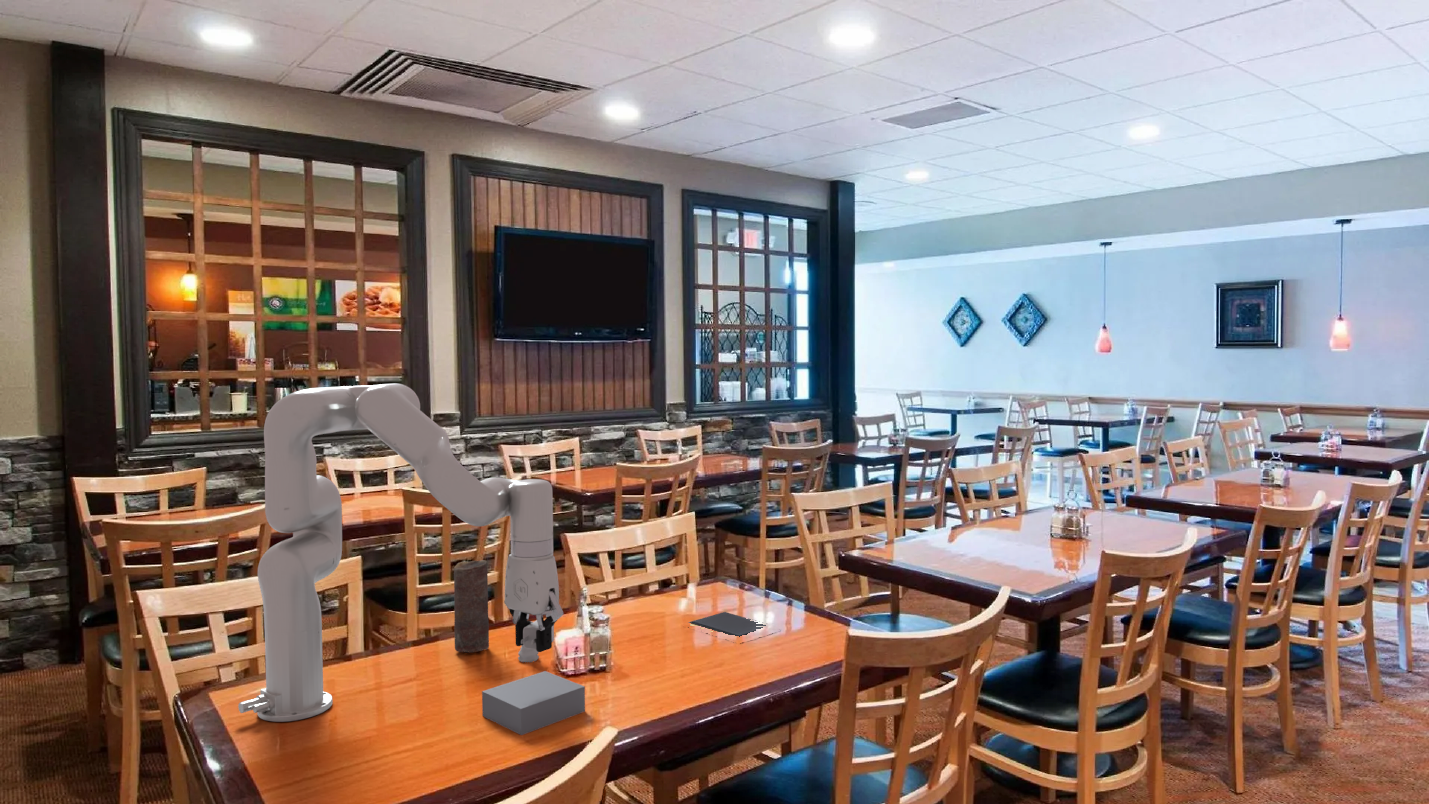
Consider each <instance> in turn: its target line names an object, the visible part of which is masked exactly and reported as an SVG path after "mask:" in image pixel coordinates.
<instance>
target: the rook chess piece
mask: <svg viewBox="0 0 1429 804" xmlns="http://www.w3.org/2000/svg"><path fill="white" fill-rule="evenodd" d="M530 621H531V623H533V622H534V621H532V620H530ZM539 658H540V656H539V652H537V650H536V649H526V648H525V647H524V645H521V646H520V650H519V651H518V657H517V659H518V660H519V662H520V663H524V662H525V664H527V663H528V662H529V663H534V662H537V660H538V659H539ZM533 661H534V662H533ZM526 662H527V663H526ZM529 663H528V664H529Z"/></svg>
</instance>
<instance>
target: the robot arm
mask: <svg viewBox="0 0 1429 804" xmlns="http://www.w3.org/2000/svg"><path fill="white" fill-rule="evenodd" d="M263 426H264V427H263V441H264V455H265V458H264V462H265V463H264V464H265V465H264V511H265V518H266V521H267V523H268V524H269V526H270V528H272V529H273V530H274V531H276V532H278V533H282V534H291V533H292V537H290V538H286V539H284V540H281V541H280V542H278V543H276V544H274V545H272V546H271V547H269V549H267V550H266V551H265V553H263V554H262V557H260V560H259V563H258V566H257V579H258V585H259V589H260V593H261V598H262V605H263V606H262V607H263V620H264V623H263V624H264V625H263V626H264V646H265V647H264V654H265V657H264V658H265V686H266V687H265V688H261V689H260V694H259V695H256V696H255V698H253V699H247V700H243V701H241V702H240V701H239V703H238V706H237V707H238V708H237V709H238V711H239V713H240V714H243V713H246V712H249V711H253V713H254V714H257V716H258V718H259V719H261V720H264V721H267V722H274V723H275V722H276V723H280V722H281V723H283V722H286V723H287V722H294V721H300V720H304V719H308V718H312V717H315V716H317V715H320V714H322V713H324V712H326V711H327V710H328V709H330V708H331V706H332V705H333V696H332V694H330V693H329V692H326V691H324V668H323V667H324V664H323V625H322V622H323V621H322V607H321V602H320V599H319V596H318V593H317V590H316V583H317V582H319V581H321V580H323V579H325V578H326V577H328V576H330V575H331V574H332V573H333V572H335V570H337V568H338V567H339V565H340V563H341V559H342V554H343V553H342V551H343V507H342V506H343V504H342V503H343V501H342V498H341V494H340V491H339V489H338V487H337V486H336V484H335V483H334V482H333V481H332V480H331V479H329V478H328V477H325V476H323V475H319V474H317V463H318V462H317V455H316V453H317V452H316V451H315V450H316V449H315V447H314V444H313V440H312V439H313V438H314V437H316V436H318V435H319V436H320V435H323V434H324V435H325V434H332V433H336V432H337V433H338V432H344V431H353V430H354V431H356V430H357V431H358V430H368V431H370V432H371V434H373V435H374V436H375V437H377V438H378V439H379V440H380V441H382V442H383V443H384V444H385V445H386V446H388V447H389V448H390V449H391V450H392V451H393V452H395V453H396V454H398V455H399V457H401V458H402V459H403V460H404V461H405V462H407V464H409V465H410V466H411V467H412V468H413V469H414V471H415V473H416V474H417V476H418V478H419V479H420V481H421V483H422V484H423V485H424V487H425V488H426V489H427V491H428V492H429V494H431V495H432V497H433V498H435V500H437V502H439V504H441V505H442V506H443V507H445V508H446V509H447V511H449V512H451V513H452V514H454V516H456V517H457V518H458V519H460V520H461V521H463V522H464V523H465V524H468V525H470V526H472V527H473V526H474V527H485V526H488V525H491V524H492V523H493V522H494V523H495V521H497V520H499V519H502V518H505V517H510V554H508V557H507V562H506V568H505V577H504V578H505V580H504V600H503V601H504V602H503V603H504V605H505V606H506V608H507V609H508V610H509V613H510V614H511V616H512V623H513V624H514V625H515V629H514V630H515V633H514V634H515V646H517V647H521V646H522V645H523V644H521V640H522V639H523V629H524V628H525V627H526V626H528V625H530V624H531V621H532V620H529V617H530V615H532V616H536V620H537V623H538V628H539V630H536V650H537V652H538V653H542V652H544V651H547V650H550V649H552V646H553V645H552V644H553V642H552V627H554V628H555V623H557V621H558V620H559V619H560V618H561V617H563V616H564V611H563V609H562V606H561V605H560V603H559V602H560V597H559V596H560V593H559V591H560V590H559V589H560V586H559V577H558V569H557V562H556V558H555V556H554V512H553V511H554V510H553V509H554V507H553V506H554V505H553V500H554V499H553V486H552V484H551V483H550V481H548V480H546V479H539V478H531V479H530V478H529V479H521V480H520V479H512V478H506V477H505V478H504V477H498V476H496V477H495V476H494V477H489V478H488V477H487V478H484V479H483V480H479V479H478V478H476V476H475V475H473V474H472V473H471V472H470V471H468V469H467V468H466V467H464V466H463V465H462V464H461V463H460V462H459V461H458V460H457V458H456V457H455V456H454V453H453V452H452V449H451V445H450V438H449V434H448V433H447V431H446V430H445V429H444V428H442V427H441V426H440V425H438V424H437V423H436V422H435V421H433V420H432V419H431V418H430V417H429V416H427V415H426V414H425V413H424V412H423V411H422V410H421V403H420V399H419V396H418V395H417V394H416V392H415V390H413V389H412V388H411V387H409V386H407V385H405V384H402V383H396V382H395V383H382V384H381V383H380V384H373V385H353V386H351V385H349V386H347V385H346V386H345V385H343V386H328V387H310V388H306V389H304V388H303V389H300V390H296V391H294V392H291V393H289V394H287V395H285V396H284V397H282V398H281V399H279V400H278V401H276V402H275V403H274V404H273V406H271V408H270V410H269V411H268V412H267V414H266V417H265V421H264V425H263ZM544 616H545V619H544Z"/></svg>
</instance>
